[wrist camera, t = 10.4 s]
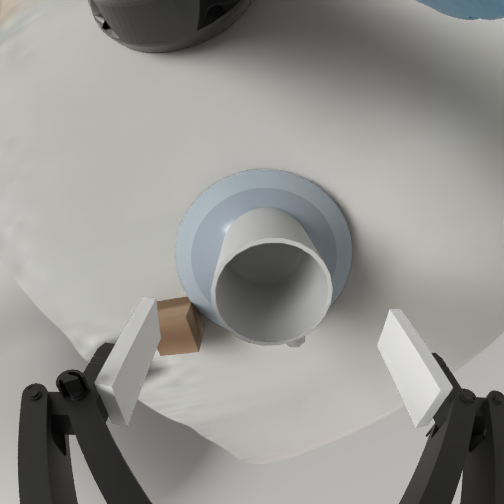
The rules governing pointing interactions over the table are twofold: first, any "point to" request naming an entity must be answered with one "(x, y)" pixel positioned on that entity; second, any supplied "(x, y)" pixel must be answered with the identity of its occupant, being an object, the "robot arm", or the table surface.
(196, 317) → the walnut block
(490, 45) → the table surface
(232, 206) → the dish
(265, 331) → the cup
